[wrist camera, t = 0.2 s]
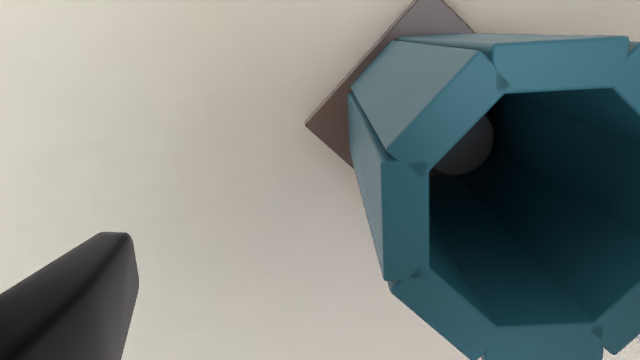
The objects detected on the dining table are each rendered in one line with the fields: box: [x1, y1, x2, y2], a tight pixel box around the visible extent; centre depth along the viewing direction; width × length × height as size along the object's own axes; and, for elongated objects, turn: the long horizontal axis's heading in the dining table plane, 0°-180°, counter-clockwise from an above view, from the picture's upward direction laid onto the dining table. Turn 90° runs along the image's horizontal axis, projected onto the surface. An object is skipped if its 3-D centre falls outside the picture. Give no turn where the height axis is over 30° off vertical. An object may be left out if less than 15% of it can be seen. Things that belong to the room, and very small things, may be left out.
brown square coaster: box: [305, 0, 494, 176], centre depth 20 cm, size 7×7×6 cm
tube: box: [348, 33, 640, 360], centre depth 16 cm, size 6×6×12 cm
